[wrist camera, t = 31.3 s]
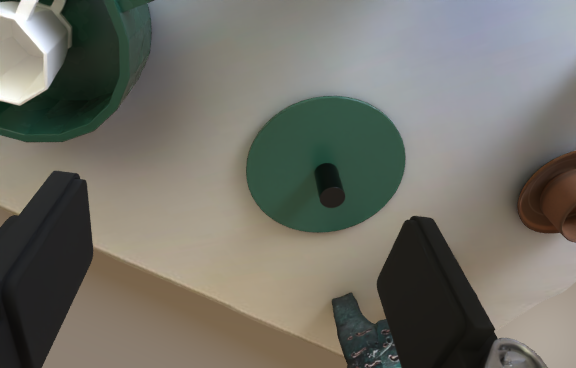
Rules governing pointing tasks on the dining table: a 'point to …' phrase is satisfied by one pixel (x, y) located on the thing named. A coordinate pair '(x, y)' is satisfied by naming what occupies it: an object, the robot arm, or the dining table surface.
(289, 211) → the pot lid
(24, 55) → the cup
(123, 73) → the pot
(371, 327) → the ceramic cat
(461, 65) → the dining table surface
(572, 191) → the cup and saucer
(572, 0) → the dining table surface
